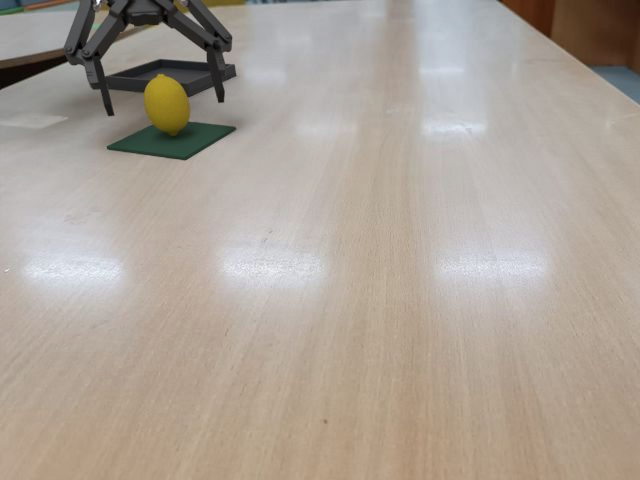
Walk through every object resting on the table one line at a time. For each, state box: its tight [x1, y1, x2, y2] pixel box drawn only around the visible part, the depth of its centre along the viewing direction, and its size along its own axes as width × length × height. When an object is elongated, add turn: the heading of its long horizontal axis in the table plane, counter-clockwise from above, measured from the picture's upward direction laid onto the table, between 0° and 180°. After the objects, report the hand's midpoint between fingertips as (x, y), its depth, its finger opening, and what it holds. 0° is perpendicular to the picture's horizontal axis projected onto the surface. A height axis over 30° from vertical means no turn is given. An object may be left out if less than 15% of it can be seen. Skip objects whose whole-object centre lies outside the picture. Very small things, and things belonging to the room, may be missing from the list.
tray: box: [105, 58, 237, 97], centre depth 94 cm, size 17×15×2 cm
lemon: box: [143, 74, 191, 136], centre depth 67 cm, size 6×6×8 cm
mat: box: [106, 120, 237, 161], centre depth 69 cm, size 12×12×1 cm
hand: (167, 104), depth 64 cm, fingers open, 13 cm apart
